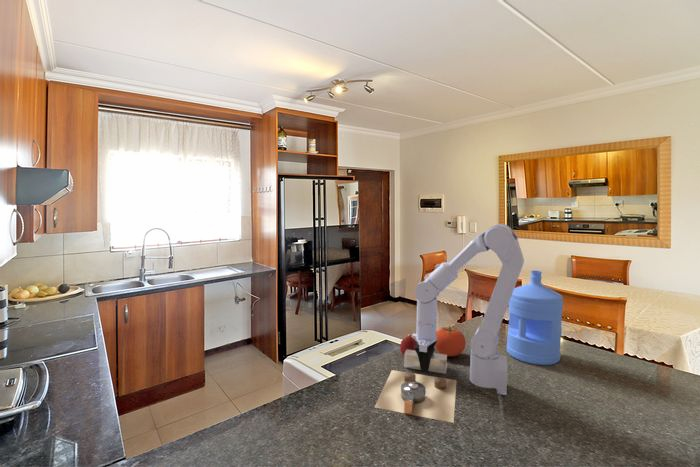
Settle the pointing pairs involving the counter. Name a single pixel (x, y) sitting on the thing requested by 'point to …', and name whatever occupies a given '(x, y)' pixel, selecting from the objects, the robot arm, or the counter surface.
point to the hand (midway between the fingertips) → (425, 366)
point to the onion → (407, 344)
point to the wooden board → (436, 396)
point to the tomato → (450, 341)
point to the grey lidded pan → (412, 395)
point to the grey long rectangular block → (436, 362)
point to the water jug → (535, 323)
